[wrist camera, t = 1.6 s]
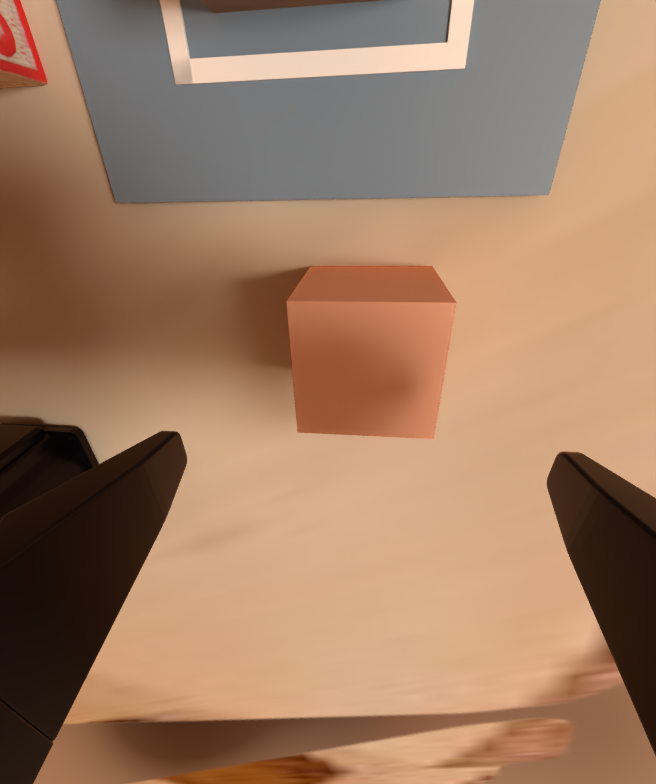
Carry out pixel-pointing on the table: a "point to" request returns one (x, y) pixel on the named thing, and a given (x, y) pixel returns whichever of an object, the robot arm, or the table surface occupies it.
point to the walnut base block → (267, 4)
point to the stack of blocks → (18, 49)
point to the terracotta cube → (369, 349)
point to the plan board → (329, 96)
